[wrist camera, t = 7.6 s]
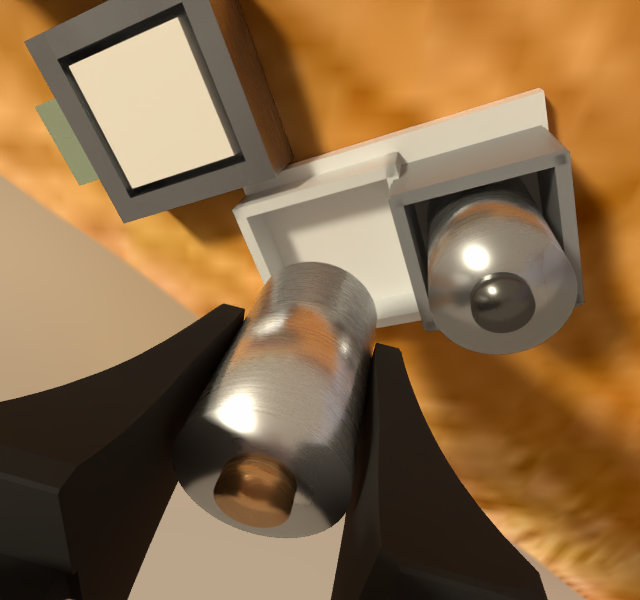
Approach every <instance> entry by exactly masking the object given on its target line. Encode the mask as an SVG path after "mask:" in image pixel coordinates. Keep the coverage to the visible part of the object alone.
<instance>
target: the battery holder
mask: <svg viewBox="0 0 640 600" xmlns="http://www.w3.org/2000/svg"><path fill="white" fill-rule="evenodd" d="M513 177H519V178H520V179H521V181H522V182H523V183H524V184H525V186H526V188H527V189H528V191H529V193H530V195H531V196H532V198H533V200H534V201H535V203H536V205H537V207H538V208H539V210H540V212H541V214H542V215H543V217H544V219H545V220H546V222H547V224H548V226H549V227H550V229H551V231H552V233H553V234H554V236H555V238H556V240H557V241H558V243H559V245H560V246H561V248H562V250H563V252H564V253H565V255H566V257H567V259H568V260H569V262H570V264H571V266H572V267H573V270H574V272H575V275H576V280H577V299H576V303H575V306H574V307H577V306H581V303H584V302H585V301H584V290H583V280H582V270H581V260H580V250H579V239H578V229H577V219H576V209H575V199H574V188H573V178H572V168H571V158H570V151H569V150H567V149H566V148H565V147H564V146H563V145H562V144H561V143H560V142H559V141H558V140H557V139H556V138H555V137H554V136H553V135H552V134H551V133H550V132H549V129H548V121H547V112H546V103H545V95H544V91H543V90H542V89H540V88H536V89H533V90H530V91H527V92H523V93H520V94H517V95H514V96H510V97H507V98H504V99H501V100H497V101H494V102H491V103H488V104H484V105H481V106H478V107H475V108H471V109H468V110H465V111H462V112H458V113H455V114H452V115H449V116H445V117H442V118H439V119H436V120H432V121H429V122H426V123H423V124H419V125H416V126H413V127H410V128H406V129H403V130H400V131H397V132H393V133H390V134H387V135H384V136H380V137H377V138H374V139H371V140H367V141H364V142H361V143H358V144H354V145H351V146H348V147H345V148H341V149H338V150H335V151H332V152H328V153H325V154H322V155H319V156H315V157H312V158H309V159H306V160H302V161H299V162H296V163H293V164H289V165H287V166H286V167H285V168H284V169H283V170H282V172H281V173H280V174H279V175H278V176H277V177H276V178H273V179H270V180H266V181H263V182H260V183H256V184H253V185H250V186H246V187H243V190H244V192H245V195H246V196H245V197H244V198H243V199H242V200H241V201H240V202H239V204H238V205H237V206H236V207H235V208H234V209H233V210H232V211H233V213H234V216H235V218H236V220H237V223H238V225H239V227H240V230H241V232H242V234H243V236H244V239H245V241H246V243H247V246H248V248H249V250H250V253H251V255H252V257H253V259H254V262H255V264H256V266H257V269H258V271H259V273H260V276H261V278H262V280H263V282H264V285H265V284H266V282H267V281H268V280H269V279H270V278H271V277H272V275H274V274H275V273H276V272H277V271H279V270H281V269H282V268H284V267H287V266H289V265H292V264H295V263H300V262H322V263H327V264H331V265H334V266H337V267H339V268H341V269H343V270H345V271H347V272H349V273H350V274H352V275H353V276H355V277H356V278H357V279H358V280H359V281H360V282H361V283H362V284H363V285H364V286H365V287H366V289H367V290H368V292H369V293H370V295H371V297H372V299H373V301H374V304H375V307H376V312H377V325H376V328H381V327H387V326H392V325H398V324H404V323H409V322H415V321H420V320H421V321H422V324H423V328H424V330H427V331H428V332H430V331H436V330H440V329H439V328H438V327H437V325H436V324H435V322H434V320H433V318H432V315H431V312H430V308H429V299H428V237H427V212H428V206H429V202H430V200H431V199H432V198H436V197H440V196H443V195H447V194H451V193H455V192H459V191H463V190H467V189H471V188H475V187H478V186H482V185H486V184H490V183H494V182H498V181H502V180H506V179H510V178H513Z"/></svg>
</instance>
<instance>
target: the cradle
mask: <svg viewBox="0 0 640 600" xmlns="http://www.w3.org/2000/svg"><path fill="white" fill-rule="evenodd" d="M177 17H188V18H189V21H190V23H191V26H192V28H193V31H194V33H195V36H196V38H197V41H198V43H199V46H200V48H201V51H202V53H203V56H204V58H205V61H206V63H207V66H208V68H209V70H210V73H211V75H212V78H213V80H214V83H215V85H216V88H217V90H218V93H219V95H220V98H221V100H222V103H223V105H224V108H225V110H226V113H227V115H228V118H229V120H230V123H231V125H232V128H233V130H234V133H235V135H236V138H237V140H238V143H239V145H240V148H241V151H239V152H238V153H237V154H235V155H234V156H231V157H228V158H225V159H222V160H219V161H216V162H212V163H209V164H206V165H203V166H200V167H197V168H194V169H191V170H188V171H185V172H182V173H179V174H176V175H173V176H170V177H167V178H164V179H161V180H157V181H154V182H151V183H148V184H145V185H142V186H139V187H136V188H133V189H132V187H131V185H130V183H129V181H128V179H127V177H126V175H125V173H124V171H123V169H122V168H121V166H120V164H119V162H118V160H117V158H116V156H115V154H114V152H113V150H112V148H111V146H110V145H109V143H108V141H107V139H106V137H105V135H104V133H103V131H102V129H101V127H100V125H99V123H98V122H97V120H96V118H95V116H94V114H93V112H92V110H91V108H90V106H89V104H88V102H87V100H86V99H85V97H84V95H83V93H82V91H81V89H80V87H79V85H78V83H77V81H76V79H75V77H74V76H73V74H72V72H71V70H70V68H69V66H70V65H72V64H74V63H77V62H79V61H81V60H83V59H86V58H88V57H90V56H92V55H94V54H97V53H99V52H101V51H103V50H106V49H108V48H110V47H112V46H114V45H117V44H119V43H121V42H123V41H126V40H128V39H130V38H132V37H134V36H137V35H139V34H141V33H143V32H146V31H148V30H150V29H152V28H154V27H157V26H159V25H161V24H163V23H166V22H168V21H170V20H172V19H174V18H177ZM25 44H26V46H27V48H28V50H29V51H30V53H31V55H32V57H33V59H34V61H35V62H36V64H37V66H38V68H39V70H40V72H41V73H42V75H43V77H44V79H45V81H46V82H47V84H48V86H49V88H50V90H51V92H52V93H53V95H54V97H55V99H53V100H50V101H48V102H46V103H43V104H41V105H39V106H36V107H35V108H36V110H37V112H38V114H39V115H40V117H41V119H42V121H43V122H44V124H45V126H46V128H47V129H48V131H49V133H50V135H51V136H52V138H53V140H54V142H55V143H56V145H57V147H58V149H59V150H60V152H61V154H62V156H63V157H64V159H65V161H66V163H67V164H68V166H69V168H70V170H71V171H72V173H73V175H74V177H75V178H76V180H77V182H78V184H79V185H83V184H86V183H89V182H92V181H95V180H98V179H100V181H101V183H102V185H103V186H104V188H105V190H106V192H107V194H108V196H109V197H110V199H111V201H112V203H113V205H114V206H115V208H116V210H117V212H118V214H119V216H120V217H121V219H122V221H123V223H127V222H130V221H134V220H137V219H140V218H144V217H147V216H150V215H153V214H157V213H160V212H163V211H167V210H170V209H173V208H177V207H180V206H183V205H187V204H190V203H193V202H197V201H200V200H203V199H207V198H210V197H213V196H217V195H220V194H223V193H227V192H230V191H233V190H236V189H240V188H243V187H246V186H250V185H253V184H256V183H260V182H263V181H266V180H270V179H273V178H276V177H277V176H278V175H279V174H280V173H281V172H282V170H283V169H284V168H285V167H286V166H287V165H288V164H289V162H290V161H291V160H292V159H293V158H294V157H293V154H292V151H291V148H290V145H289V143H288V140H287V137H286V134H285V131H284V129H283V126H282V123H281V120H280V117H279V114H278V112H277V109H276V106H275V103H274V100H273V98H272V95H271V92H270V89H269V86H268V84H267V81H266V78H265V75H264V72H263V70H262V67H261V64H260V61H259V58H258V56H257V53H256V50H255V47H254V44H253V41H252V39H251V36H250V33H249V30H248V27H247V25H246V22H245V19H244V16H243V13H242V11H241V8H240V5H239V2H238V0H108V1H106V2H104V3H102V4H100V5H98V6H96V7H94V8H92V9H90V10H88V11H86V12H84V13H82V14H80V15H78V16H76V17H74V18H72V19H70V20H67V21H65V22H63V23H61V24H59V25H57V26H55V27H53V28H51V29H49V30H47V31H45V32H43V33H41V34H39V35H37V36H35V37H33V38H31V39H29V40H27V41H25Z"/></svg>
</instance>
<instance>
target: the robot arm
mask: <svg viewBox="0 0 640 600" xmlns="http://www.w3.org/2000/svg"><path fill="white" fill-rule="evenodd" d="M244 312H245V309H243V308H239V307H235V306H231V305H227V304H222V305H220V306H218V307H217V308H215V309H214V310H212V311H211V312H209V313H208V314H206V315H205V316H203V317H202V318H200V319H199V320H197V321H196V322H194V323H193V324H191V325H190V326H188V327H187V328H185V329H183V330H182V331H180V332H178V333H177V334H175V335H174V336H172V337H170V338H169V339H167V340H165V341H164V342H162V343H160V344H158V345H156V346H154V347H153V348H151V349H149V350H147V351H145V352H144V353H142V354H140V355H138V356H136V357H134V358H132V359H130V360H128V361H125V362H123V363H121V364H119V365H116V366H115V367H112V368H109V369H107V370H105V371H102V372H100V373H97V374H94V375H91V376H89V377H86V378H83V379H80V380H77V381H74V382H72V383H69V384H66V385H63V386H60V387H56V388H53V389H50V390H46V391H43V392H39V393H35V394H32V395H28V396H24V397H20V398H16V399H12V400H7V401H2V402H0V600H127V599H128V597H129V594H130V592H131V589H132V587H133V584H134V582H135V579H136V577H137V574H138V572H139V570H140V567H141V565H142V563H143V560H144V558H145V555H146V553H147V550H148V548H149V546H150V543H151V541H152V539H153V537H154V534H155V532H156V530H157V527H158V525H159V523H160V520H161V518H162V516H163V514H164V511H165V509H166V507H167V505H168V502H169V500H170V498H171V495H172V493H173V491H174V489H175V487H176V485H177V482H178V479H177V477H176V474H175V471H174V469H173V463H172V450H173V445H174V443H175V440H176V438H177V436H178V435H179V433H180V431H181V429H182V428H183V426H184V424H185V422H186V421H187V419H188V417H189V415H190V414H191V412H192V410H193V409H194V407H195V405H196V403H197V402H198V400H199V398H200V396H201V395H202V393H203V391H204V389H205V388H206V386H207V384H208V383H209V381H210V379H211V377H212V376H213V374H214V372H215V370H216V369H217V367H218V365H219V363H220V362H221V360H222V358H223V356H224V355H225V353H226V351H227V350H228V348H229V346H230V344H231V343H232V341H233V339H234V337H235V336H236V334H237V332H238V330H239V329H240V327H241V325H242V323H243V321H244ZM331 600H548V599H547V596H546V593H545V590H544V587H543V584H542V581H541V578H540V575H539V572H538V571H537V570H536V569H535V568H534V567H533V566H532V565H531V564H530V563H529V562H528V561H527V560H526V559H525V558H524V557H523V556H522V555H521V554H520V553H519V551H518V550H517V549H516V548H515V547H514V546H513V545H512V544H511V543H510V542H509V541H508V540H507V539H506V538H505V537H504V536H503V535H502V533H501V532H500V531H499V530H498V529H497V528H496V526H495V525H494V524H493V523H492V522H491V520H490V519H489V518H488V517H487V516H486V515H485V513H484V512H483V511H482V510H481V508H480V507H479V506H478V505H477V503H476V502H475V500H474V499H473V498H472V496H471V495H470V494H469V492H468V491H467V490H466V488H465V487H464V485H463V484H462V483H461V481H460V480H459V479H458V477H457V475H456V474H455V472H454V471H453V469H452V468H451V466H450V465H449V463H448V461H447V460H446V458H445V456H444V455H443V453H442V451H441V449H440V448H439V446H438V444H437V442H436V440H435V438H434V436H433V435H432V432H431V430H430V428H429V426H428V424H427V422H426V420H425V418H424V416H423V413H422V411H421V409H420V406H419V404H418V402H417V399H416V397H415V394H414V392H413V389H412V386H411V384H410V381H409V378H408V375H407V372H406V368H405V365H404V361H403V357H402V353H401V351H400V350H399V348H395V347H391V346H387V345H383V344H379V343H376V345H375V349H374V352H373V355H372V358H371V365H370V372H369V379H368V385H367V393H366V399H365V406H364V413H363V420H362V426H361V433H360V440H359V447H358V453H357V460H356V467H355V473H354V480H353V487H352V494H351V500H350V504H349V507H348V509H347V511H346V517H345V525H344V530H343V535H342V541H341V547H340V552H339V558H338V563H337V569H336V574H335V580H334V585H333V591H332V596H331Z"/></svg>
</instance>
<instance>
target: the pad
mask: <svg viewBox="0 0 640 600" xmlns="http://www.w3.org/2000/svg"><path fill="white" fill-rule="evenodd" d="M69 68H70V70H71V72H72V74H73V76H74V77H75V79H76V81H77V83H78V85H79V87H80V89H81V91H82V93H83V95H84V97H85V99H86V100H87V102H88V104H89V106H90V108H91V110H92V112H93V114H94V116H95V118H96V120H97V122H98V123H99V125H100V127H101V129H102V131H103V133H104V135H105V137H106V139H107V141H108V143H109V145H110V146H111V148H112V150H113V152H114V154H115V156H116V158H117V160H118V162H119V164H120V166H121V168H122V169H123V171H124V173H125V175H126V177H127V179H128V181H129V183H130V185H131V187H132V189H133V188H136V187H139V186H142V185H145V184H148V183H151V182H154V181H157V180H161V179H164V178H167V177H170V176H173V175H176V174H179V173H182V172H185V171H188V170H191V169H194V168H197V167H200V166H203V165H206V164H209V163H212V162H216V161H219V160H222V159H225V158H228V157H231V156H234V155H235V154H237V153H238V152H239V151H241V148H240V145H239V143H238V140H237V138H236V135H235V133H234V130H233V128H232V125H231V123H230V120H229V118H228V115H227V113H226V110H225V108H224V105H223V103H222V100H221V98H220V95H219V93H218V90H217V88H216V85H215V83H214V80H213V78H212V75H211V73H210V70H209V68H208V66H207V63H206V61H205V58H204V56H203V53H202V51H201V48H200V46H199V43H198V41H197V38H196V36H195V33H194V31H193V28H192V26H191V23H190V21H189V18H188V17H177V18H174V19H172V20H170V21H168V22H166V23H163V24H161V25H159V26H157V27H154V28H152V29H150V30H148V31H146V32H143V33H141V34H139V35H137V36H134V37H132V38H130V39H128V40H126V41H123V42H121V43H119V44H117V45H114V46H112V47H110V48H108V49H106V50H103V51H101V52H99V53H97V54H94V55H92V56H90V57H88V58H86V59H83V60H81V61H79V62H77V63H74V64H72V65H70V66H69Z"/></svg>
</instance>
